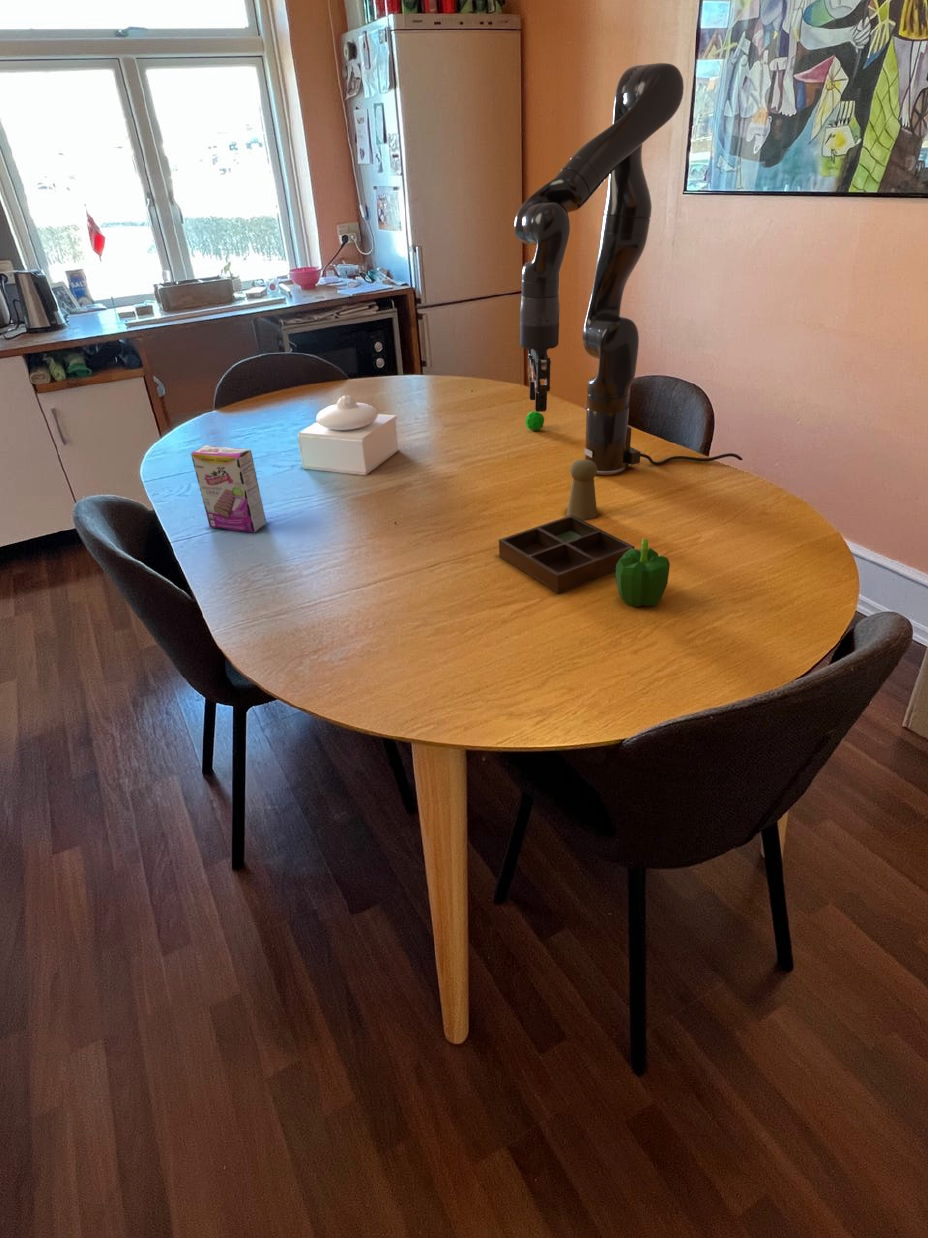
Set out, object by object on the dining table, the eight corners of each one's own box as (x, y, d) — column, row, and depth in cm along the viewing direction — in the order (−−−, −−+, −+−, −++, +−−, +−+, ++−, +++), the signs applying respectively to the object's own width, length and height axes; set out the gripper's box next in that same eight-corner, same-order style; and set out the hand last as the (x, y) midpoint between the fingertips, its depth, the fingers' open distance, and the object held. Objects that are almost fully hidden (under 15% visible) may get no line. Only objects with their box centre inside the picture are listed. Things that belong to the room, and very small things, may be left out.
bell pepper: (656, 618, 117) (661, 562, 111) (607, 606, 120) (610, 551, 115) (673, 594, 122) (680, 539, 117) (626, 583, 126) (630, 529, 121)
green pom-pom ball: (547, 428, 197) (547, 410, 195) (538, 433, 194) (538, 415, 191) (530, 425, 200) (530, 408, 197) (522, 431, 196) (521, 413, 194)
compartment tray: (571, 531, 144) (571, 514, 142) (633, 563, 132) (634, 546, 130) (499, 556, 137) (498, 539, 135) (557, 593, 125) (558, 575, 123)
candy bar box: (208, 529, 154) (188, 452, 145) (222, 519, 158) (204, 444, 149) (254, 534, 151) (237, 456, 142) (268, 524, 155) (251, 447, 146)
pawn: (596, 520, 148) (598, 467, 142) (565, 519, 149) (567, 466, 143) (597, 507, 153) (600, 456, 147) (568, 506, 154) (569, 455, 148)
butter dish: (302, 468, 181) (291, 403, 173) (340, 444, 195) (331, 382, 187) (366, 475, 175) (357, 408, 167) (399, 449, 189) (393, 386, 181)
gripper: (565, 326, 137) (561, 414, 145) (553, 313, 149) (550, 395, 157) (524, 328, 136) (523, 416, 145) (515, 314, 148) (515, 396, 157)
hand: (537, 405), depth 151 cm, fingers open, 8 cm apart
